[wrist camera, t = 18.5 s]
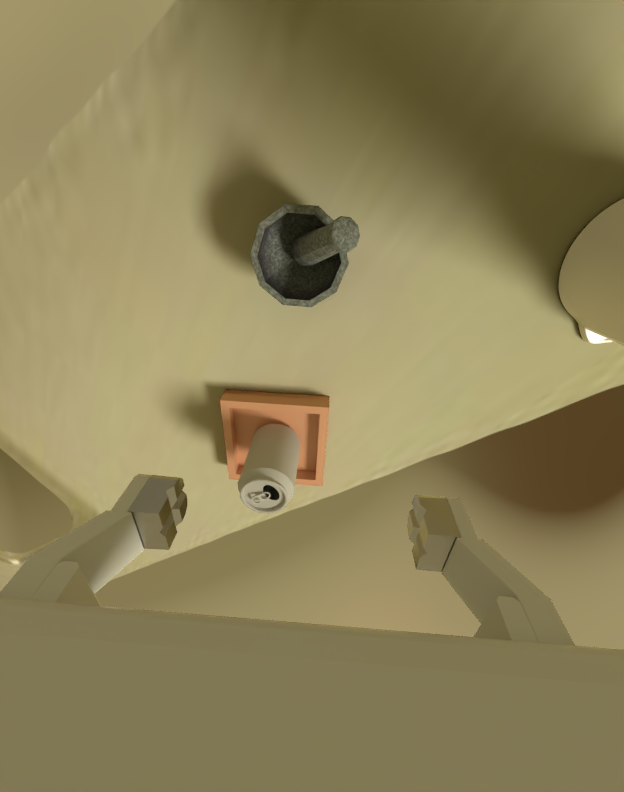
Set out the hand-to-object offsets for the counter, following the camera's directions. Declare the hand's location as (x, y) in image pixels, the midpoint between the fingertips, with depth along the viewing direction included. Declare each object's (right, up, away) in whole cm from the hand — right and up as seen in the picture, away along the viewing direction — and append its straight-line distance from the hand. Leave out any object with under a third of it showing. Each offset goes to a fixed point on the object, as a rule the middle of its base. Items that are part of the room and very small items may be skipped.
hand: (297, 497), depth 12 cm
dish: (-5, -2, +42) cm, 42 cm away
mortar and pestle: (0, +21, +27) cm, 35 cm away
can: (-5, -3, +41) cm, 42 cm away
